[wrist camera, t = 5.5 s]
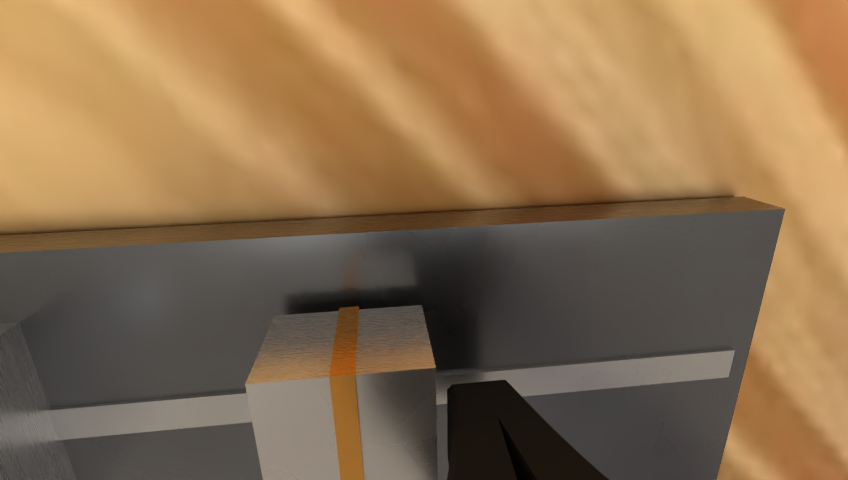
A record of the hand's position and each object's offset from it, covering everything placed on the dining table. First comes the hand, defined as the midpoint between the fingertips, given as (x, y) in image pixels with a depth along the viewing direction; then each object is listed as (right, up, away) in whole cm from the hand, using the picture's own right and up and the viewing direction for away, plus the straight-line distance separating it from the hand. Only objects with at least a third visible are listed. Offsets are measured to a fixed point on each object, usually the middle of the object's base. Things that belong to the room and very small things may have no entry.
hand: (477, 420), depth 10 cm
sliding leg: (-3, 0, 0) cm, 3 cm away
